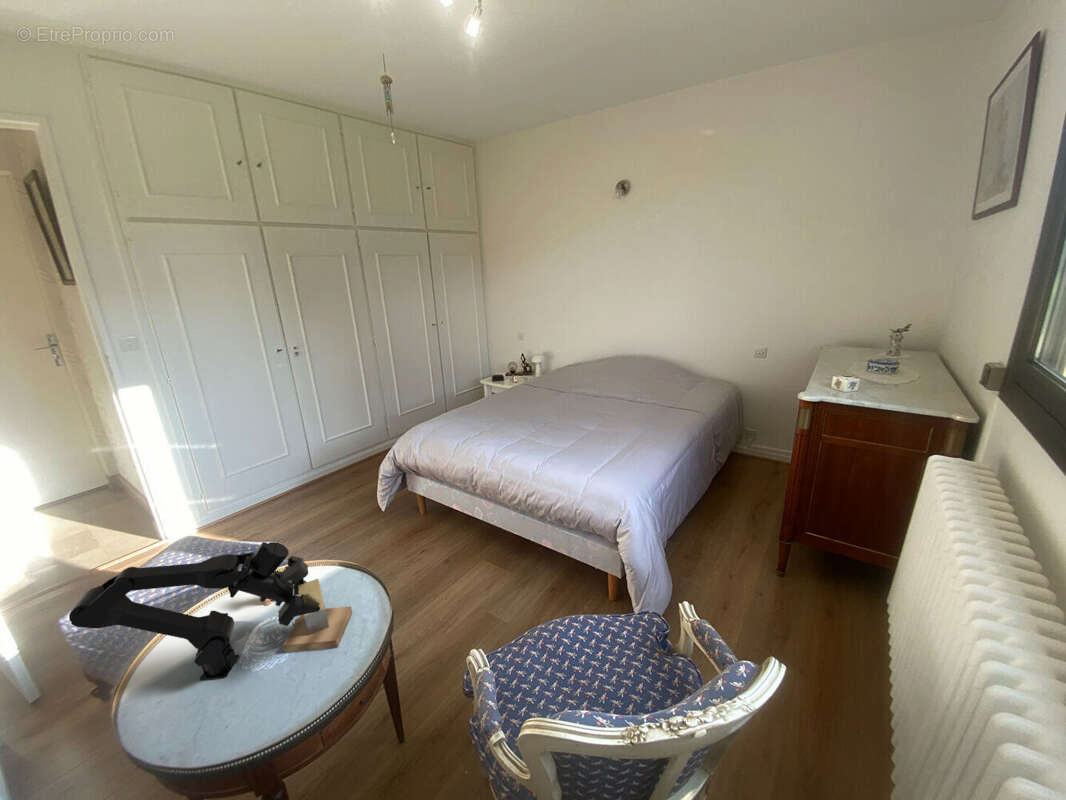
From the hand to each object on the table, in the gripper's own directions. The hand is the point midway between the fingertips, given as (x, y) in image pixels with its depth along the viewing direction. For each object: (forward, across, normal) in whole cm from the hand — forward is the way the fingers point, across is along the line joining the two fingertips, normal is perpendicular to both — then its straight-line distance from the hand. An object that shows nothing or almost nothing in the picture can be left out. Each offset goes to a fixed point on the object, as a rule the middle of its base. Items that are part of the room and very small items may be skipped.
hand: (318, 601), depth 119 cm
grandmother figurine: (-3, +22, +18) cm, 28 cm away
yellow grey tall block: (+4, 0, +6) cm, 8 cm away
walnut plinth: (+6, 0, +8) cm, 10 cm away
